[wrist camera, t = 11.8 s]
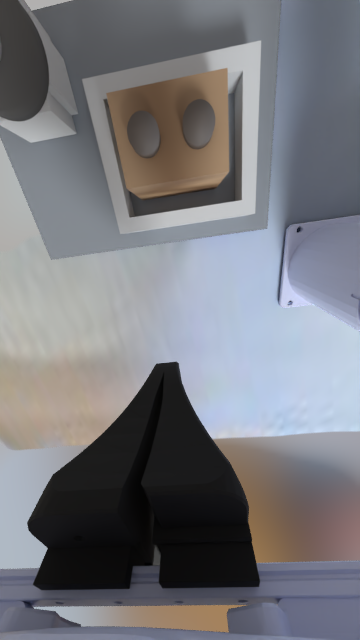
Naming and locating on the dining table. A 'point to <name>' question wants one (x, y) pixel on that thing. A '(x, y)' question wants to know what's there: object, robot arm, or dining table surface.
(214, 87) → the block with grey pegs
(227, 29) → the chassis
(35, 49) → the wheel
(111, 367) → the dining table surface
